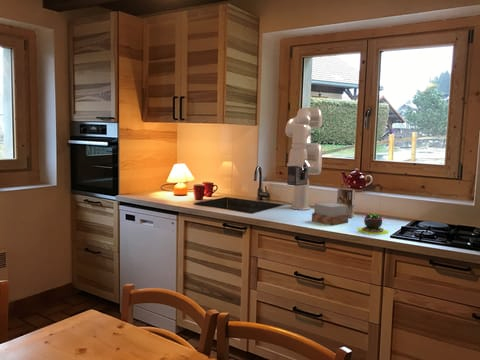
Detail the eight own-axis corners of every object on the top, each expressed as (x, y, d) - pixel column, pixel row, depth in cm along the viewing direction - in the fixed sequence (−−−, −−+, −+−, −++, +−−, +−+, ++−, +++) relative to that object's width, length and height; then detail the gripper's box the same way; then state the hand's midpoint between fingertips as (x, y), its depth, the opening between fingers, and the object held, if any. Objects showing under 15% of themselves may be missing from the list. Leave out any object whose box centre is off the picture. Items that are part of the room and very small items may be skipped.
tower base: (311, 222, 242) (312, 213, 242) (326, 219, 252) (327, 210, 251) (333, 226, 232) (333, 217, 231) (348, 223, 241) (348, 214, 241)
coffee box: (354, 216, 261) (355, 189, 259) (351, 218, 255) (353, 190, 253) (338, 214, 265) (340, 188, 263) (335, 216, 259) (337, 189, 258)
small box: (298, 183, 252) (299, 165, 250) (307, 184, 247) (308, 166, 246) (286, 184, 244) (287, 165, 243) (295, 185, 240) (296, 166, 238)
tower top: (314, 212, 242) (314, 203, 242) (329, 211, 250) (329, 202, 249) (330, 216, 233) (331, 207, 232) (345, 214, 240) (346, 205, 239)
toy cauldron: (364, 226, 232) (366, 205, 231) (393, 231, 223) (394, 209, 222) (352, 230, 221) (353, 209, 220) (381, 236, 211) (382, 213, 210)
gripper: (282, 146, 247) (281, 178, 249) (307, 147, 234) (305, 181, 236) (291, 146, 252) (289, 177, 254) (315, 147, 240) (314, 180, 242)
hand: (297, 178), depth 245 cm, fingers closed on small box, 6 cm apart
